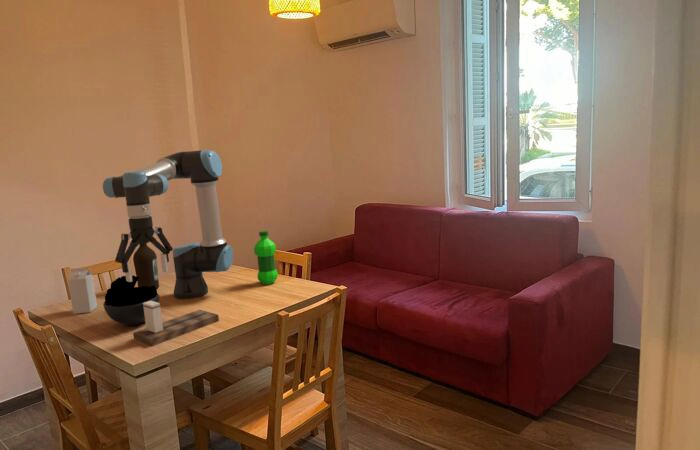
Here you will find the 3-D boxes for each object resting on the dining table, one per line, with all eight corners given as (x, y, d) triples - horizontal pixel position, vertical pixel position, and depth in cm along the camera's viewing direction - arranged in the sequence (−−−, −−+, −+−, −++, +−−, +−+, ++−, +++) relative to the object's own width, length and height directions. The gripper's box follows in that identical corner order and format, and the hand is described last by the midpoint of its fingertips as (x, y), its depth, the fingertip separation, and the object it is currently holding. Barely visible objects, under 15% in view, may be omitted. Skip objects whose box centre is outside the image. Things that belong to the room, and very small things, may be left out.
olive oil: (135, 293, 244) (128, 241, 240) (139, 287, 255) (132, 237, 250) (158, 290, 247) (152, 239, 242) (161, 284, 257) (155, 235, 253)
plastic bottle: (261, 279, 253) (257, 229, 249) (282, 279, 251) (277, 229, 247) (254, 285, 244) (248, 233, 240) (275, 285, 242) (270, 233, 237)
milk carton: (80, 308, 225) (73, 266, 222) (97, 307, 225) (90, 265, 222) (73, 314, 218) (66, 270, 215) (90, 312, 218) (84, 269, 215)
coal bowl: (142, 311, 215) (136, 268, 212) (172, 319, 204) (166, 273, 200) (96, 327, 199) (89, 280, 196) (125, 336, 188) (118, 286, 184)
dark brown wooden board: (151, 346, 177) (150, 339, 176) (134, 339, 184) (133, 332, 184) (218, 320, 198) (218, 314, 198) (200, 315, 206) (199, 309, 205)
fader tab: (155, 332, 181) (151, 305, 179) (146, 329, 185) (142, 302, 183) (163, 330, 183) (159, 303, 182) (154, 326, 187) (150, 300, 185)
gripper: (109, 223, 165) (118, 287, 169) (178, 211, 184) (185, 269, 188) (98, 222, 170) (107, 284, 174) (166, 210, 189) (173, 266, 193)
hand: (147, 276), depth 181 cm, fingers open, 13 cm apart
